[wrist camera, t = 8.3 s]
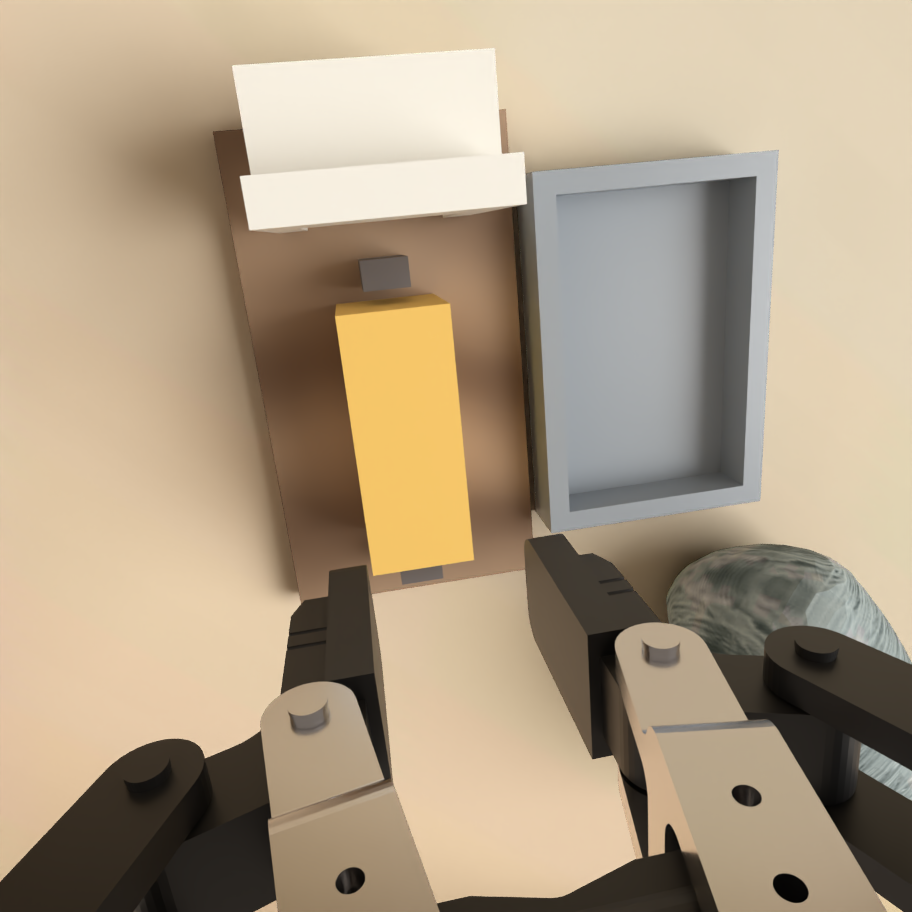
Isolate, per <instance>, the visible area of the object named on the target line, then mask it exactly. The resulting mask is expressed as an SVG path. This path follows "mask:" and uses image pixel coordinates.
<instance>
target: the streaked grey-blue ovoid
mask: <svg viewBox="0 0 912 912" xmlns="http://www.w3.org/2000/svg"><path fill="white" fill-rule="evenodd" d="M666 605H667V613H668V621H669V624H674V625H677V626H681V627H683V628H686V629H688V630H690V631H692V632H694V633H695V634H697V635H698V636H700V637H701V638H702V639H703V640H704V642H705V643H706V645H707V646H708V648H709V650H710V652H711V653H717V654H727V655H758V656H764V642H765V640H766V638H767V636H768V635H769V634H770V633H772V632H773V631H775V630H777V629H780V628H783V627H788V626H799V625H801V626H814V627H820V628H825V629H829V630H832V631H835V632H838V633H841V634H843V635H845V636H848V637H850V638H852V639H854V640H857V641H859V642H861V643H864V644H866V645H868V646H871V647H873V648H875V649H877V650H880V651H882V652H884V653H887V654H889V655H891V656H893V657H896V658H898V659H900V660H903V661H905V662H907V663H909V664H912V663H911V660H910V658H909V656H908V654H907V652H906V650H905V649H904V647H903V645H902V643H901V642H900V640H899V638H898V637H897V635H896V633H895V632H894V630H893V628H892V627H891V625H890V623H889V622H888V620H887V619H886V618H885V616H884V615H883V613H882V612H881V610H880V609H879V608H878V606H877V605H876V604H875V602H874V601H873V600H872V598H871V597H870V596H869V594H868V593H867V592H866V590H865V589H864V588H863V587H862V586H861V585H860V583H859V582H858V581H857V580H856V579H855V577H854V576H853V575H852V573H851V572H850V571H849V570H847V569H846V568H844V567H843V566H842V565H840V564H839V563H838V562H836V561H834V560H833V559H831V558H829V557H827V556H824V555H822V554H819V553H817V552H814V551H811V550H808V549H803V548H797V547H792V546H786V545H775V544H758V545H748V546H739V547H733V548H728V549H723V550H718V551H714V552H712V553H710V554H708V555H706V556H704V557H702V558H700V559H698V560H696V561H694V562H693V563H691V564H689V565H688V566H687V567H686V568H684V569H683V570H682V571H681V572H680V574H679V575H678V576H677V577H676V578H675V580H674V582H673V584H672V586H671V587H670V589H669V591H668V594H667V596H666ZM859 770H860V771H862V772H864V773H865V774H867V775H869V776H871V777H872V778H874V779H876V780H877V781H879V782H881V783H882V784H884V785H886V786H888V787H889V788H891V789H893V790H894V791H896V792H898V793H899V794H901V795H903V796H904V797H906V798H908V799H910V800H911V801H912V771H911V770H909V769H907V768H906V767H904V766H902V765H900V764H898V763H897V762H895V761H893V760H891V759H889V758H888V757H886V756H884V755H882V754H880V753H879V752H877V751H875V750H873V749H871V748H870V747H868V746H866V745H864V744H862V743H861V751H860V760H859Z"/></svg>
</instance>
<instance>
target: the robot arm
mask: <svg viewBox="0 0 912 912" xmlns="http://www.w3.org/2000/svg"><path fill="white" fill-rule="evenodd" d="M524 557H525V571H526V585H527V599H528V611H529V618H530V624H531V628H532V632H533V635H534V638H535V641H536V643H537V645H538V647H539V649H540V651H541V654H542V656H543V658H544V660H545V662H546V664H547V666H548V668H549V670H550V672H551V674H552V676H553V678H554V680H555V683H556V685H557V687H558V689H559V691H560V693H561V695H562V697H563V699H564V701H565V703H566V705H567V707H568V710H569V712H570V714H571V716H572V718H573V720H574V722H575V724H576V726H577V728H578V730H579V732H580V734H581V737H582V739H583V741H584V743H585V745H586V747H587V749H588V751H589V753H590V755H591V757H592V759H596V758H601V757H606V756H611V755H613V756H614V758H615V759H616V761H617V763H618V786H619V792H620V796H621V800H622V804H623V808H624V812H625V816H626V820H627V824H628V828H629V832H630V836H631V840H632V844H633V848H634V852H635V855H636V859H635V860H633V861H631V862H629V863H627V864H625V865H623V866H621V867H619V868H618V869H616V870H614V871H612V872H610V873H608V874H606V875H604V876H602V877H600V878H598V879H597V880H595V881H593V882H591V883H589V884H587V885H585V886H583V887H581V888H579V889H577V890H575V891H574V892H572V893H570V894H568V895H565V896H563V897H558V898H522V897H481V896H468V897H464V898H459V899H455V900H450V901H446V902H441V903H436V900H435V898H434V895H433V892H432V889H431V886H430V884H429V881H428V878H427V875H426V873H425V870H424V867H423V864H422V862H421V859H420V856H419V853H418V850H417V848H416V845H415V842H414V839H413V837H412V834H411V831H410V828H409V826H408V823H407V820H406V817H405V815H404V812H403V809H402V806H401V803H400V801H399V798H398V795H397V792H396V790H395V787H394V785H393V778H392V768H391V757H390V746H389V735H388V725H387V714H386V703H385V692H384V682H383V671H382V661H381V653H380V646H379V639H378V632H377V625H376V619H375V613H374V606H373V600H372V593H371V587H370V580H369V574H368V568H367V565H361V566H354V567H348V568H342V569H336V570H330V571H329V585H328V596H327V597H321V598H315V599H309V600H304V601H303V603H302V604H301V605H300V606H299V608H298V609H297V610H296V611H295V612H294V614H293V615H292V616H291V622H290V629H289V637H288V644H287V651H286V658H285V666H284V673H283V680H282V688H281V695H280V696H278V697H277V698H276V699H274V700H273V701H272V702H271V703H270V704H269V705H268V707H267V708H266V709H265V711H264V713H263V715H262V718H261V722H260V727H261V731H260V732H258V733H257V734H256V735H254V736H253V737H251V738H250V739H248V740H246V741H245V742H243V743H241V744H239V745H236V746H234V747H232V748H230V749H227V750H225V751H222V752H220V753H218V754H215V755H213V756H210V757H208V758H204V754H203V751H202V750H201V748H200V747H199V746H198V745H197V744H195V743H194V742H191V741H189V740H184V739H165V740H160V741H156V742H152V743H149V744H146V745H144V746H141V747H139V748H137V749H135V750H133V751H131V752H129V753H127V754H126V755H124V756H123V757H121V758H120V759H118V760H117V761H116V762H114V763H113V764H112V765H111V766H110V767H109V768H108V769H107V770H106V771H105V772H104V773H103V774H102V775H101V776H100V777H99V778H98V779H97V780H96V781H95V782H94V783H93V784H92V785H91V786H90V788H89V789H88V790H87V791H86V792H85V793H84V794H83V795H82V796H81V797H80V798H79V799H78V800H77V801H76V802H75V803H74V804H73V806H72V807H71V808H70V809H69V810H68V811H67V812H66V813H65V814H64V815H63V816H62V817H61V818H60V819H59V820H58V821H57V822H56V823H55V825H54V826H53V827H52V828H51V829H50V830H49V831H48V832H47V833H46V834H45V835H44V836H43V837H42V838H41V839H40V840H39V841H38V843H37V844H36V845H35V846H34V847H33V848H32V849H31V850H30V851H29V852H28V853H27V854H26V855H25V856H24V857H23V858H22V859H21V861H20V862H19V863H18V864H17V865H16V866H15V867H14V868H13V869H12V870H11V871H10V872H9V873H8V874H7V875H6V876H5V877H4V878H3V880H2V881H1V882H0V912H254V911H256V910H258V909H260V908H262V907H264V906H266V905H267V904H269V903H271V902H273V901H275V900H277V908H278V912H887V911H886V909H885V907H884V906H883V904H882V902H881V901H880V899H879V897H878V896H877V894H876V892H877V893H878V894H880V895H881V896H882V897H884V898H885V899H886V900H888V901H889V902H891V903H892V904H893V905H895V906H896V907H898V908H899V909H900V910H902V911H903V912H912V801H911V800H910V799H908V798H906V797H904V796H903V795H901V794H899V793H898V792H896V791H894V790H893V789H891V788H889V787H888V786H886V785H884V784H882V783H881V782H879V781H877V780H876V779H874V778H872V777H871V776H869V775H867V774H865V773H864V772H862V771H860V770H859V760H860V751H861V743H862V744H864V745H866V746H868V747H870V748H871V749H873V750H875V751H877V752H879V753H880V754H882V755H884V756H886V757H888V758H889V759H891V760H893V761H895V762H897V763H898V764H900V765H902V766H904V767H906V768H907V769H909V770H911V771H912V664H909V663H907V662H905V661H903V660H900V659H898V658H896V657H893V656H891V655H889V654H887V653H884V652H882V651H880V650H877V649H875V648H873V647H871V646H868V645H866V644H864V643H861V642H859V641H857V640H854V639H852V638H850V637H848V636H845V635H843V634H841V633H838V632H835V631H832V630H829V629H825V628H820V627H814V626H801V625H799V626H788V627H783V628H780V629H777V630H775V631H773V632H772V633H770V634H769V635H768V636H767V638H766V640H765V642H764V656H758V655H727V654H717V653H711V652H710V650H709V648H708V646H707V645H706V643H705V642H704V640H703V639H702V638H701V637H700V636H698V635H697V634H695V633H694V632H692V631H690V630H688V629H686V628H683V627H681V626H677V625H674V624H668V623H662V622H661V621H660V620H659V619H658V617H657V616H656V615H655V614H654V613H653V611H652V610H651V609H650V608H649V607H648V605H647V604H646V603H645V602H644V601H643V599H642V598H641V597H640V596H639V595H638V593H637V592H636V591H633V587H632V586H631V585H630V584H629V583H628V581H627V580H624V577H623V576H622V574H621V573H620V572H619V571H618V570H617V568H616V567H615V566H614V565H613V564H612V563H611V562H609V561H607V560H605V559H603V558H601V557H599V556H597V555H595V554H593V553H591V554H585V555H578V554H577V552H576V551H575V550H574V548H573V547H572V546H571V544H570V543H569V542H568V540H567V539H566V538H565V536H564V535H563V534H557V535H550V536H544V537H538V538H532V539H526V540H525V543H524Z"/></svg>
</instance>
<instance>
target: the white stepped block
mask: <svg viewBox="0 0 912 912" xmlns="http://www.w3.org/2000/svg"><path fill="white" fill-rule="evenodd" d="M232 69H233V75H234V81H235V87H236V92H237V98H238V104H239V110H240V115H241V121H242V127H243V133H244V138H245V144H246V150H247V155H248V161H249V167H250V173H251V175H246V176H240V181H241V186H242V192H243V198H244V203H245V209H246V214H247V220H248V225H249V230H251V231H261V232H270V233H288V232H299V231H308V228H311V227H322V226H332V225H343V224H353V223H364V222H374V221H385V220H395V219H406V218H416V217H427V216H437V215H443V218H445V217H456V216H466V215H473V214H479V213H484V212H489V211H494V210H499V209H504V208H509V207H514V206H520V205H525V204H527V196H526V178H525V160H524V152H517V153H506V154H502V150H501V135H500V120H499V105H498V89H497V74H496V59H495V48H489V49H473V50H458V51H443V52H428V53H412V54H397V55H382V56H367V57H351V58H336V59H321V60H306V61H290V62H275V63H260V64H245V65H232Z"/></svg>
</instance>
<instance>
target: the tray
mask: <svg viewBox="0 0 912 912" xmlns="http://www.w3.org/2000/svg"><path fill="white" fill-rule="evenodd" d="M778 152H779V150H774V151H762V152H751V153H740V154H728V155H717V156H706V157H695V158H683V159H672V160H661V161H650V162H638V163H627V164H616V165H604V166H593V167H582V168H571V169H559V170H548V171H537V172H531V173H528V174H525V178H526V196H527V204H525V205H520V206H517V211H518V228H519V244H520V261H521V277H522V294H523V311H524V327H525V344H526V360H527V377H528V393H529V410H530V426H531V443H532V460H533V476H534V493H535V509H536V512H537V514H538V515H539V516H540V518H541V519H542V521H543V522H544V523H545V525H546V526H547V528H548V529H549V530H550V532H551V533H556V532H562V531H569V530H575V529H582V528H588V527H595V526H601V525H607V524H614V523H620V522H627V521H633V520H640V519H646V518H652V517H659V516H665V515H672V514H678V513H685V512H691V511H697V510H704V509H710V508H717V507H723V506H730V505H736V504H742V503H749V502H755V501H760V495H761V476H762V457H763V438H764V419H765V400H766V380H767V361H768V342H769V323H770V304H771V285H772V266H773V247H774V228H775V209H776V190H777V171H778Z"/></svg>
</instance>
